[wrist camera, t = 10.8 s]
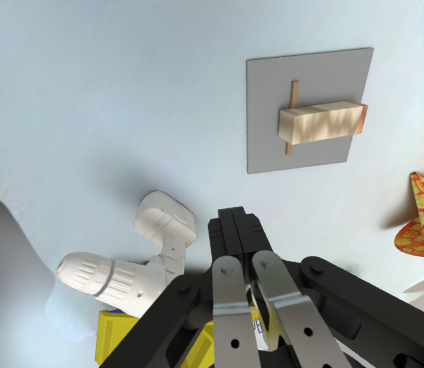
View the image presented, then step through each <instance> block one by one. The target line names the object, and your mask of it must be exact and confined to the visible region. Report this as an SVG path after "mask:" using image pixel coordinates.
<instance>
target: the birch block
mask: <svg viewBox="0 0 424 368" xmlns="http://www.w3.org/2000/svg"><path fill="white" fill-rule="evenodd" d="M367 109H368V105H365V104H360V103H356V102H352V101H341V102H334V103H327V104H320V105H313V106H306V107H299V108H292V109H285V110H280V123H279V137H280V138H282V139H283V140H285V141H287V142H288V143H290V144H291V145H294V144H300V143H306V142H312V141H318V140H323V139H329V138H335V137H341V136H347V135H353V134H359V133H361V132H362V128H363V124H364V120H365V116H366V113H367Z"/></svg>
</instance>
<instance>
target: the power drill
mask: <svg viewBox="0 0 424 368" xmlns="http://www.w3.org/2000/svg"><path fill="white" fill-rule="evenodd" d="M133 227H134V229H135V230H136V231H137V232H138V233H140V234H141V235H143V236H145V237H146V238H148V239H149V240H150V241H152V242H153V243H155V244H157V245H158V246H160V247H162V251H161V254H159V255H158V256H157V255H155V256H154V257H153V258H151V259H150V262H148V263H147V264H146V265H140V264H135V263H131V262H127V261H123V260H119V259H115V258H112V259H110V260H109V259H107V258H105V257H102V256H100V255H96V254H92V253H86V252H75V253H70V254H68V255H66V256H65V257H64V258H63V259H62V260H61V262H60V263H59V265H58V267H57V274H58V276H59V278H60V279H61V280H62V281H63V282H64V283H65V284H67V285H68V286H70V287H72V288H74V289H76V290H79V291H82V292H85V293H89V294H93V297H94V298H95V299H97V300H100V301H102V302H104V303H107V304H109V305H111V306H114V307H116V308H118V309H121V310H122V311H124V312H125V313H127V314H128V315H131V316H134V317H137V318H141V317H142V316H143V314H144V313H145V312H146V311H147V310H148V308H149V307H150V306H151V305H152V304H153V302H154V301H155V300H156V299H157V298H158V297H159V295H160V294H161V293H162V292H163V291H164V289H165V288H166V287H167V286H168V285H169V284H170V282H171V281H172V280H173V279H174V278H175V277H177V276H179V275H182V274H184V268H185V259H186V248H188V247H189V246H190V245H191V244H192V243H193V242H194V241H195V240H196V227H195V217H194V215H193V214H192V213H191V212H190V211H188V210H187V209H186V208H184V207H183V206H182V205H180V204H179V203H178V202H176V201H175V200H174V199H172V198H171V197H169V196H168V195H166V194H164V193H163V192H160V191H154V192H152V193H150V194H148V195H147V196H146V197H145V198H144V199H143V200H142V201H141V203H140V206H139V209H138V212H137V214H136V217H135V220H134V223H133Z"/></svg>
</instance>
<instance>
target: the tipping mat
mask: <svg viewBox="0 0 424 368" xmlns="http://www.w3.org/2000/svg"><path fill="white" fill-rule="evenodd" d="M373 51H374V48H366V49H356V50H346V51H336V52H327V53H317V54H307V55H297V56H287V57H277V58H267V59H257V60H248V61H246V87H247V173H248V174H254V173H262V172H270V171H278V170H286V169H294V168H302V167H310V166H318V165H326V164H334V163H342V162H346V161H347V157H348V153H349V149H350V145H351V141H352V136H353V135H347V136H341V137H335V138H329V139H323V140H318V141H312V142H306V143H300V144H294V145H291V144H290V143H288V142H287V141H285V140H283V139H282V138H280V137H279V123H280V110H285V109H292V108H299V107H306V106H313V105H320V104H327V103H334V102H341V101H352V102H356V103H360V104H361V100H362V96H363V92H364V87H365V83H366V79H367V75H368V71H369V67H370V63H371V59H372V55H373Z"/></svg>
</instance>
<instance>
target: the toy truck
mask: <svg viewBox="0 0 424 368" xmlns="http://www.w3.org/2000/svg"><path fill="white" fill-rule="evenodd" d="M246 296H247V301H248V306H250V310H251V315H252V321H254V325H255V321H256V320H258V319H259V316H258V313H257V310H256V307H255V304H254V302H253V299H252V291H251V289H250V288H249V290H246ZM139 319H140V318H137V317H134V316H131V315H128V314H127V313H125V312H124V311H122V310H121V309H118V308H117V310H112V311H109V309H108V310H102V311H99V321H98V331H97V342H96V352H95V361H96V362H97V363H98V365H101V364H102V363H103V362H104V361H105V359H106V358H107V357H108V356H109V355H110V353H111V352H112V351H113V350H114V349H115V348H116V346H117V345H118V344H119V343H120V342H121V340H122V339H123V338H124V337H125V336H126V335H127V333H128V332H129V331H130V330H131V329H132V327H133V326H134V325H135V324H136V323H137V321H138V320H139ZM259 322H260V319H259ZM256 324H257V321H256ZM254 325H253V326H254ZM259 325H261V322H260V324H259ZM259 325H257V328H258V326H259ZM261 329H262V326H261ZM254 330H255V329H254ZM258 331H259V328H258ZM263 331H264V330H262V332H263ZM259 333H261V332H259ZM214 363H215V362H214V332H213V320H212V321H210V322H208V323H207V324H205V326H204V328H203V330H202V332H201V333H200V335H199V337H198V338H197V340H196V342H195V343H194V345H193V347H192V348H191V350H190V352H189V353H188V355H187V357H186V358H185V360H184V362H183V363H182V365H181V367H180V368H208V367H209V366H211V365H212V364H214Z"/></svg>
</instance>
